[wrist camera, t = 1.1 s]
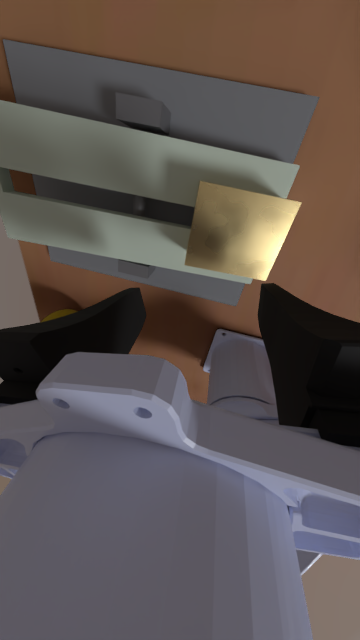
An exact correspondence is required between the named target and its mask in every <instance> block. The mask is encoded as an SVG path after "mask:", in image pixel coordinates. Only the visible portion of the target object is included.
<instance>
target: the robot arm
mask: <svg viewBox="0 0 360 640" xmlns="http://www.w3.org/2000/svg"><path fill="white" fill-rule="evenodd" d="M145 318H146V311H145V308H144V304H143V300H142V296H141V292H140V288H129V289H126V290H124V291H121V292H119V293H117V294H115V295H113V296H111V297H109V298H107V299H105V300H103V301H101V302H99V303H97V304H95V305H93V306H90V307H88V308H86V309H83V310H81V311H78V312H75V313H72V314H69V315H66V316H63V317H59V318H56V319H52V320H48V321H44V322H40V323H35V324H30V325H25V326H19V327H13V328H6V329H1V330H0V377H1V378H2V379H3V380H4V381H3V382H2V383H1V384H0V475H1V476H4V477H8V478H10V479H12V480H11V481H10V482H9V484H8V485H7V487H6V488H5V489H4V491H3V492H2V494H1V495H0V640H313V637H312V631H311V626H310V621H309V616H308V610H307V605H306V599H305V594H304V589H303V584H302V578H301V576H302V575H303V574H304V573H305V572H306V571H307V570H308V569H309V568H310V567H311V566H312V565H313V564H314V563H315V562H316V561H317V560H318V559H319V558H320V557H321V555H322V554H327V555H332V556H339V557H345V558H351V559H357V560H360V323H358V322H354V321H351V320H348V319H345V318H342V317H339V316H336V315H333V314H330V313H328V312H325V311H323V310H321V309H318V308H316V307H314V306H312V305H310V304H308V303H306V302H304V301H302V300H300V299H299V298H297V297H295V296H294V295H292V294H290V293H289V292H287V291H286V290H284V289H282V288H281V287H279V286H278V285H276V284H274V283H269V284H261V292H260V301H259V309H258V320H259V328H260V332H261V335H262V339H259V338H255V337H251V336H247V335H243V334H239V333H235V332H231V331H227V330H224V329H218V330H217V331H216V333H215V336H214V339H213V341H212V344H211V347H210V350H209V352H208V355H207V358H206V361H205V364H204V366H203V370H204V371H205V372H209V373H210V375H209V387H208V398H207V404H205V403H201V402H198V401H195V400H192V399H190V397H189V394H188V389H187V383H186V380H185V378H184V376H183V375H182V373H181V371H180V369H178V368H177V367H176V366H174V365H173V364H171V363H170V362H168V361H167V360H165V359H162V358H158V357H154V356H149V355H131V354H129V352H130V350H131V348H132V346H133V344H134V342H135V340H136V339H137V337H138V335H139V333H140V331H141V329H142V327H143V324H144V321H145ZM222 333H226V334H222ZM209 369H210V370H209Z"/></svg>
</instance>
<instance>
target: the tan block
mask: <svg viewBox="0 0 360 640" xmlns="http://www.w3.org/2000/svg"><path fill="white" fill-rule="evenodd" d="M301 203H302V202H298V201H294V200H290V199H286V198H282V197H277V196H272V195H267V194H263V193H258V192H253V191H249V190H244V189H239V188H234V187H230V186H225V185H220V184H215V183H211V182H206V181H201V180H200V182H199V187H198V192H197V197H196V203H195V208H194V213H193V219H192V224H191V229H190V235H189V240H188V245H187V251H186V257H185V264H184V265H186V266H191V267H196V268H201V269H207V270H212V271H217V272H222V273H227V274H232V275H238V276H243V277H248V278H253V279H258V280H264V281H266V279H267V276H268V274H269V272H270V270H271V268H272V266H273V263H274V261H275V259H276V257H277V255H278V253H279V250H280V248H281V246H282V244H283V242H284V240H285V237H286V235H287V233H288V231H289V229H290V227H291V224H292V222H293V220H294V218H295V216H296V214H297V211H298V209H299V207H300V205H301Z"/></svg>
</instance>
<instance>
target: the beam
mask: <svg viewBox="0 0 360 640" xmlns="http://www.w3.org/2000/svg"><path fill="white" fill-rule="evenodd" d="M299 167H300V166H299V165H294V164H290V163H285V162H281V161H276V160H272V159H267V158H263V157H258V156H253V155H249V154H244V153H240V152H235V151H231V150H226V149H221V148H217V147H212V146H208V145H203V144H199V143H194V142H190V141H185V140H180V139H176V138H171V137H167V136H162V135H158V134H153V133H149V132H144V131H139V130H135V129H130V128H126V127H121V126H117V125H112V124H107V123H103V122H98V121H94V120H89V119H85V118H80V117H76V116H71V115H66V114H62V113H57V112H53V111H48V110H44V109H39V108H34V107H30V106H25V105H21V104H16V103H12V102H7V101H3V100H0V214H1V217H2V220H3V224H4V227H5V230H6V233H7V236H8V238H12V239H17V240H22V241H27V242H33V243H38V244H43V245H48V246H53V247H59V248H64V249H69V250H74V251H79V252H85V253H90V254H95V255H100V256H106V257H111V258H116V259H121V260H126V261H132V262H137V263H142V264H147V265H152V266H158V267H163V268H168V269H173V270H179V271H184V272H189V273H194V274H199V275H205V276H210V277H215V278H220V279H225V280H231V281H236V282H241V283H246V284H251V282H252V279H253V278H248V277H243V276H238V275H232V274H227V273H222V272H217V271H212V270H207V269H201V268H196V267H191V266H186V265H184V264H185V257H186V251H187V245H188V240H189V235H190V229H191V226H186V225H181V224H176V223H171V222H166V221H161V220H156V219H151V218H146V217H145V204H146V197H148V198H153V199H158V200H162V201H167V202H172V203H177V204H182V205H187V206H192V207H195V203H196V197H197V192H198V187H199V182H200V180H201V181H206V182H211V183H215V184H220V185H225V186H230V187H234V188H239V189H244V190H249V191H253V192H258V193H263V194H267V195H272V196H277V197H282V198H287V196H288V193H289V191H290V188H291V186H292V184H293V181H294V179H295V176H296V174H297V172H298V169H299ZM9 169H12V170H17V171H21V172H26V173H31V174H36V175H41V176H46V177H51V178H55V179H60V180H65V181H70V182H75V183H80V184H85V185H90V186H94V187H99V188H104V189H109V190H114V191H119V192H124V193H128V194H133V195H134V199H133V215H132V214H127V213H122V212H117V211H112V210H107V209H102V208H97V207H92V206H87V205H82V204H77V203H72V202H67V201H62V200H57V199H52V198H47V197H42V196H37V195H32V194H27V193H22V192H17V191H14V187H13V183H12V180H11V176H10V172H9Z"/></svg>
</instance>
